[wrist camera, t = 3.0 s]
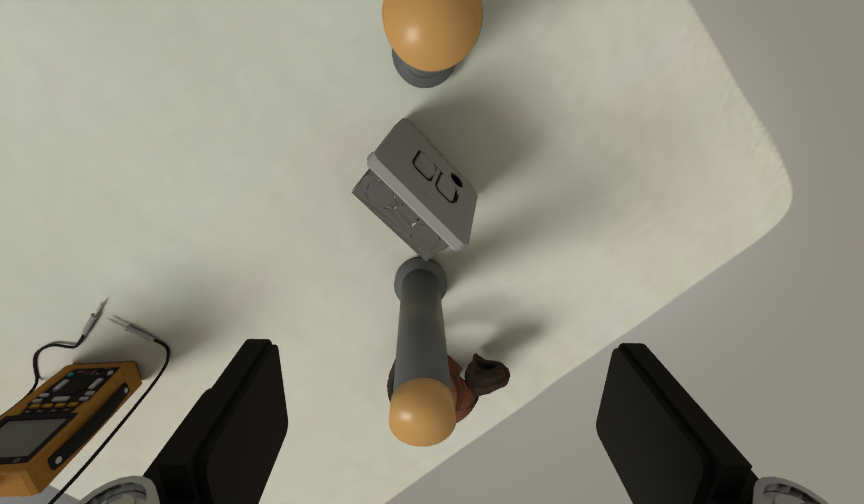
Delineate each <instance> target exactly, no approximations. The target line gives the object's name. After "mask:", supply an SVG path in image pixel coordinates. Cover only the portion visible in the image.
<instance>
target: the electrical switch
mask: <svg viewBox="0 0 864 504" xmlns="http://www.w3.org/2000/svg"><path fill="white" fill-rule="evenodd" d="M367 166H368V167H369V170H368V171H367V172H366V173H365V175H364V176H363V177H362V178H361V180H360V181H359V182H358V184H357V185H356V186H355V188H356V189H355V188H354V189H355V190H354V189H353V190H354V191H353V190H352V191H353V192H352V193H353V194H354V195H355V196H356V197H357V198H358V199H359V200H360V201H361V202H362V203H364V204H365V205H366V206H367V207H368V208H369V209H370V210H371V211H372V212H373V213H374V214H375V215H376V216H378V217H379V218H380V219H381V220H382V221H383V222H384V223H385V224H386V225H387V226H388V227H389V228H390V229H392V230H393V231H394V232H395V233H396V234H397V235H398V236H399V237H400V238H401V239H402V240H403V241H404V242H406V243H407V244H408V245H409V246H410V247H411V248H412V249H413V250H414V251H415V252H416V253H417V254H418V255H419V256H421V257H422V258H423V259H424V260H425V261H427V260H429V259H430V258H431V257H433V256H434V255H435V254H437V253H438V252H441V251H443V250H445V249H446V248H447V247H449V246H450V247H451V248H452V249H453V250H454V251H461V250H462V249H463V248H465V247H466V246H467V245H468V244H469V239H470V234H471V228H472V223H473V217H474V212H475V206H476V201H477V195H476V192H475V190H474V189H473V188H472V187H471V186H470V185H469V184H468V183H467V182H466V181H465V179H464V178H463V177H462V176H461V175H460V174H459V173H458V172H457V171H456V170H455V169H454V168H453V167H452V166H451V165H450V164H449V163H448V161H447V160H446V159H445V158H444V157H443V156H442V155H441V154H440V153H439V152H438V151H437V150H436V149H435V148H434V147H433V146H432V145H431V143H430V142H429V141H428V140H427V139H426V138H425V137H424V136H423V135H422V134H421V133H420V132H419V131H418V130H417V129H416V128H415V127H414V125H413V124H412V123H411V122H410V121H408V120H407V119H405V118H403V119H401V120H400V121H399V122H398V123H397V124H396V125H395V126H394V127H393V129H392V130H391V131H390V132H389V134H388V135H387V136H386V138H385V139H384V140H383V141H382V143H381V144H380V145H379V147H378V148H377V149H376V150H375V152H372V153H371V154H370V155H369V156H368V158H367ZM378 180H381V181H378ZM366 190H367V191H366ZM394 194H395V199H394ZM370 202H371V203H370ZM401 203H402V204H401ZM371 204H372V205H371ZM389 206H390V207H389ZM387 207H389V208H387ZM395 207H396V209H394V208H395ZM416 218H418V219H416ZM412 223H416V224H415V225H414V226H413V227H412ZM411 227H412V228H411ZM419 248H421V249H419Z"/></svg>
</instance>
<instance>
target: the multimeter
mask: <svg viewBox="0 0 864 504" xmlns="http://www.w3.org/2000/svg"><path fill="white" fill-rule="evenodd" d="M102 304H103V302H102V303H100V305H99V307H98V308H97V310H96V312H95V313H93V314H91V317H90V319H89V321H88V322H87V324H86V326H85V327H84V329H83V332H82V336H81V338H80V339H79V341H78V343H77V344H76V345H75V346H67V345H62V344H49V345H46V346H44V347H42V348H40V349H39V350H37V352H36V353H35V354H34V357H33V369H34V374H35V384H34V386H33V388H32V389H31V390H30V391H29V393H28V394H27V395H26V396H25V397H24V398H23V399H21V400H20V401H19V402H18V403H17V404H15V405H14V406H13V407H12V408H10V409H9V410H7V411H6V412H5V413H3V414H2V415H1V416H0V497H7V496H21V497H23V496H32V495H35V494H39V493H41V492H42V491H43V490H44V489H45V488H46V487H47V486H48V485H49V484H50V483H51V482H52V480H53V479H54V478H55V477H56V476H57V475H58V474H59V473H60V472H61V471H62V470H63V469H64V468H65V467H66V465H67V464H68V463H69V462H70V461H71V460H72V459H73V458H74V457H75V456H76V455H77V454H78V453H79V452H80V450H81V449H82V448H83V447H84V446H85V445H86V444H87V443H88V442H89V441H90V440H91V439H92V438H93V437H94V435H95V434H96V433H97V432H98V431H99V430H100V429H101V428H102V427H103V426H104V425H105V424H106V423H107V421H108V420H109V419H110V418H111V417H112V416H113V415H114V414H115V413H116V412H117V411H118V409H119V408H120V407H121V406H122V405H123V404H124V403H125V402H126V401H127V400H128V399H129V397H130V396H131V395H132V394H133V393H134V392H135V391H136V390H137V389H138V388H139V387H140V386H141V384H142V381H141V378H140V376H139V373H138V370H137V368H136V365H135V363H134V362H125V363H107V364H84V365H81V364H72V365H68V366H65V367H64V368H63V369H62V370H60V371H59V372H58V373H56V374H55V375H54V376H53V377H52V378H50V379H49V380H47V381H46V382H45V383H44V384H42V385H41V386H40V387H38V388H37V389H36V390H35V388H36V386H37V384H38V381H39V376H38V372H37V366H36V359H37V355H38V353H39V352H40V351H42V350H43V349H45V348H48V347H52V346H57V347H64V348H71V349H72V348H76V347H78V346H79V345H80V343H81V342H82V340H83V339H84V336H85V335H86V334H87V333H88V332H89V330H90V328H91V327H92V325H93V323H94V322H95V320H96V318H98V314H97V313H98V311H99V310H100V308H101V306H102ZM107 319H108V320H110V321H112V322H114V323H116V324H118V325H120V326H122V327H125V328H126V329H125V330H126V331H130V332H132V333H134V334H136V335H138V336H140V337H143V338H145V339H147V340H150V341H154V342H157V343H159V344H161V345H162V346H164V347H165V348H166V351H167V357H166V362H165V364H164V366H163V368H162V370H161V371H160V373H159V374H158V376H157V377H156V379H155V380H154V381H153V383H152V384H151V385H150V387H149V388H148V389H147V391H146V392H145V393H144V394H143V395H142V397H141V398H140V399H139V400H138V402H137V403H136V404H135V405H134V407H133V408H132V409H131V410H130V412H129V413H128V414H127V415H126V416H125V418H124V419H123V420H122V421H121V422H120V424H119V425H118V426H117V427H116V428H115V430H114V431H113V432H112V433H111V434H110V436H109V437H108V438H107V439H106V440H105V441H104V443H103V444H102V445H101V446H100V447H99V449H98V450H97V451H96V452H95V453H94V454H93V455H92V457H91V458H90V459H89V460H88V461H87V462H86V463H85V465H84V466H83V467H82V468H81V469H80V470H79V471H78V472H77V473H76V475H75V476H74V477H73V478H72V479H71V480H70V481H69V482H68V483H67V484H66V485H65V486H64V487H63V489H62V490H61V491H60V492H59V493H58V494H57V495H56V496H55V497H54V498H53V499H52V500H51V501H50V502H49V503H48V504H53V503H54V502H55V501H56V500H57V499H58V498H59V497H60V496H61V495H62V494H63V493H64V492H65V491H66V490H67V488H68V487H69V486H70V485H71V484H72V483H73V482H74V481H75V480H76V479H77V478H78V476H79V475H80V474H81V473H82V472H83V471H84V470H85V469H86V467H87V466H88V465H89V464H90V463H91V462H92V461H93V459H94V458H95V457H96V456H97V455H98V454H99V452H100V451H101V450H102V449H103V448H104V447H105V445H106V444H107V443H108V442H109V441H110V439H111V438H112V437H113V436H114V435H115V433H116V432H117V431H118V430H119V428H120V427H121V426H122V425H123V424H124V422H125V421H126V420H127V419H128V417H129V416H130V415H131V414H132V413H133V411H134V410H135V409H136V408H137V406H138V405H139V404H140V403H141V401H142V400H143V399H144V398H145V396H146V395H147V394H148V392H149V391H150V390H151V389H152V387H153V386H154V385H155V383H156V382H157V380H158V379H159V378H160V376H161V375H162V373H163V372H164V370H165V368H166V366H167V364H168V361H169V356H170V350H169V348H168V346H167V345H166V344H164V343H163V342H161V341H159V340H157V339H155V338H154V337H152V336H151V335H148V334H146V333H144V332H142V331H140V330H138V329H135V328H133V327H131V326H130V325H128V326H125V325H123V324H121V323H119V322H117V321H115V320H112V319H109V318H107ZM34 390H35V391H34Z"/></svg>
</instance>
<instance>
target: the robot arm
mask: <svg viewBox="0 0 864 504" xmlns="http://www.w3.org/2000/svg"><path fill="white" fill-rule="evenodd" d="M287 429H288V416H287V409H286V401H285V394H284V387H283V379H282V372H281V364H280V357H279V350H278V346H277V345H272V342H271V341H270V340H269V339H247V340H246V341H245V342H244V344H243V345H242V346H241V348H240V349H239V351H238V352H237V353H236V355H235V356H234V358H233V359H232V360H231V362H230V363H229V365H228V366H227V367H226V369H225V370H224V372H223V373H222V374H221V376H220V377H219V379H218V380H217V381H216V383H215V384H214V386H213V387H212V388H210V389H208V390H206V391H205V392H204V393H203V394H202V396H201V397H200V398H199V400H198V401H197V402H196V404H195V405H194V406H193V408H192V409H191V411H190V412H189V413H188V415H187V416H186V417H185V419H184V420H183V421H182V423H181V424H180V426H179V427H178V428H177V430H176V431H175V432H174V434H173V435H172V436H171V438H170V439H169V441H168V442H167V443H166V445H165V446H164V447H163V449H162V450H161V451H160V453H159V454H158V456H157V457H156V458H155V460H154V461H153V462H152V464H151V465H150V466H149V468H148V469H147V471H146V472H145V473H144V475H143V476H128V477H123V478H119V479H116V480H113V481H111V482H108V483H106V484H104V485H102V486H100V487H99V488H97V489H95V490H93V491H92V492H91V493H89V494H88V495H87V496H85V497H84V498H83V499H81V500H80V501H79V502H78V503H77V504H258V503H259V501H260V498H261V496H262V493H263V491H264V488H265V486H266V483H267V481H268V478H269V476H270V473H271V471H272V468H273V466H274V463H275V461H276V458H277V456H278V453H279V451H280V448H281V446H282V443H283V441H284V438H285V436H286V433H287ZM596 429H597V433H598V436H599V438H600V440H601V441H602V444H603V446H604V448H605V450H606V452H607V453H608V456H609V458H610V460H611V462H612V463H613V465H614V467H615V469H616V471H617V473H618V475H619V477H620V479H621V481H622V483H623V485H624V487H625V489H626V491H627V493H628V495H629V497H630V499H631V501H632V502H633V504H828V503H827V502H826V501H825V500H823V499H822V498H821V497H819V496H818V495H816V494H815V493H814V492H812V491H810V490H809V489H807V488H805V487H803V486H801V485H799V484H797V483H794V482H792V481H789V480H786V479H782V478H777V477H763V478H761V479H758V477H757V476H756V475H755V474H754V473H753V472H752V471H751V468H752V465H751V464H750V463H749V462H748V461H747V460H746V458H745V457H744V456H743V455H742V454H741V453H740V452H739V451H738V450H737V448H736V447H735V446H734V445H733V444H732V443H731V442H730V440H729V439H728V438H727V437H726V436H725V435H724V434H723V432H722V431H721V430H720V429H719V428H718V427H717V426H716V425H715V423H714V422H713V421H712V420H711V419H710V418H709V417H708V416H707V414H706V413H705V412H704V411H703V410H702V409H701V407H700V406H699V405H698V404H697V403H696V402H695V401H694V400H693V398H692V397H691V396H690V395H689V394H688V393H687V392H686V390H685V389H684V388H683V387H682V386H681V385H680V384H679V383H678V381H677V380H676V379H675V378H674V377H673V376H672V375H671V374H670V372H669V371H668V370H667V369H666V368H665V367H664V365H663V364H662V363H661V362H660V361H659V360H658V359H657V358H656V356H655V355H654V354H653V353H652V352H651V351H650V350H649V348H647V346H646V345H644V344H642V343H622V344H620V345H619V347H618V348H616V349H614V350H613V352H612V356H611V360H610V364H609V369H608V373H607V377H606V382H605V387H604V391H603V395H602V399H601V404H600V408H599V412H598V417H597V421H596Z"/></svg>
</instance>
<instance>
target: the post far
mask: <svg viewBox="0 0 864 504" xmlns="http://www.w3.org/2000/svg"><path fill="white" fill-rule="evenodd" d="M394 288H395V293H396V295H397V297H398V298H399V300H400V313H399V325H398V338H397V350H396V362H395V375H394V387H393V395H392V397H391V403H390V415H389V426H390V429H391V431H392V433H393V434H394V435H395V436H396V437H397V438H398V439H399V440H401V441H402V442H404V443H406V444H409V445H413V446H431V445H435V444H437V443H440V442H442V441H443V440H445V439H446V438H447V437H449V436H450V434H451V433H452V432H453V430H454V428H455V425H456V413H455V404H454V398H453V395H452V393H451V384H450V375H449V366H448V357H447V348H446V339H445V330H444V321H443V312H442V303H441V300H442V298H443V297H444V295H445V293H446V289H447V282H446V276H445V272H444V270H443V269H442V267H441V266H440V265H439V264H438V263H437V262H435V261H434V260H432V259H429V260H427V261H425V260H424V259H423V258H422V257H416V258H412V259H409V260H407V261H406V262H404V263H403V264H402V265H401V266H400V267H399V269H398V270H397V273H396V276H395V283H394Z"/></svg>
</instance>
